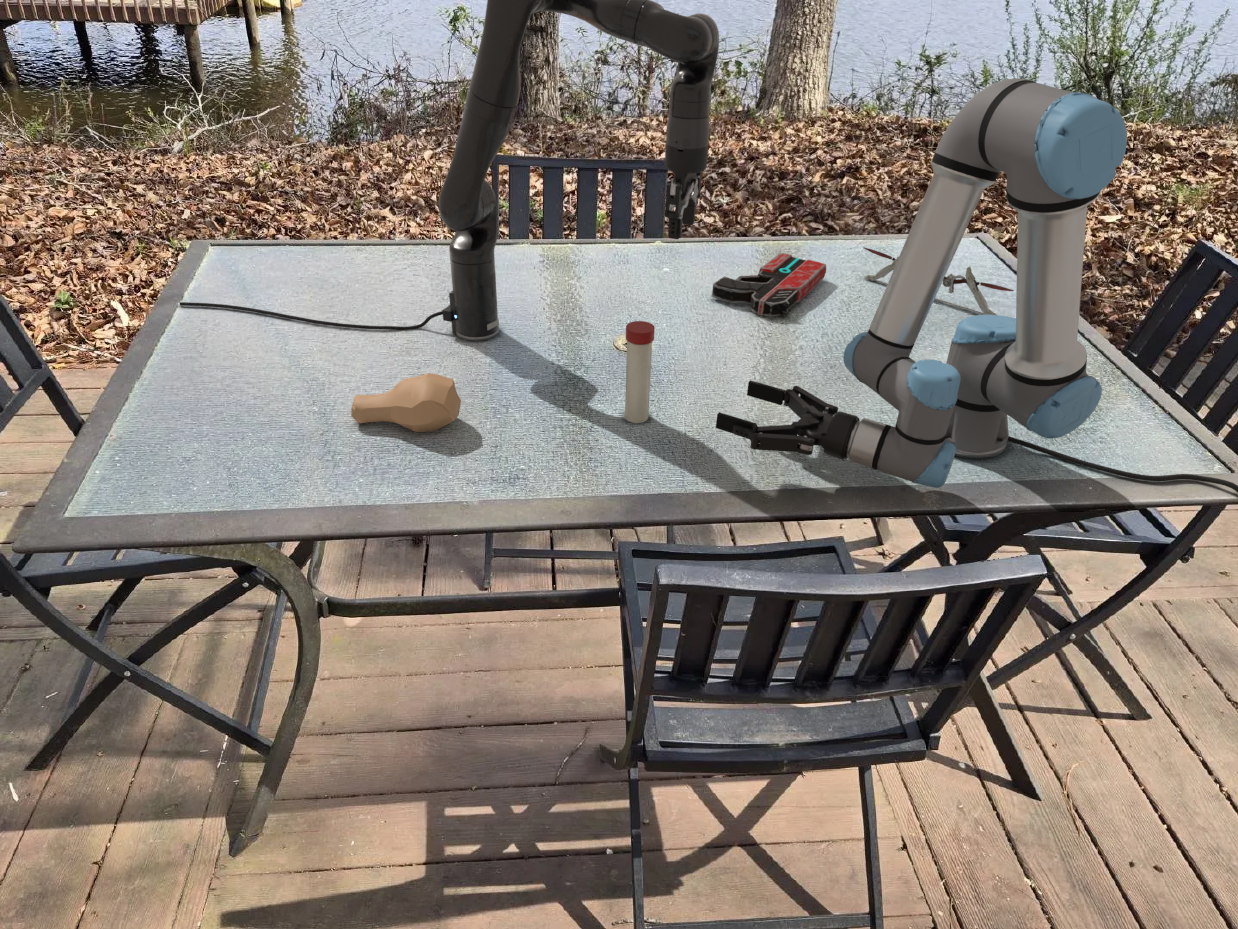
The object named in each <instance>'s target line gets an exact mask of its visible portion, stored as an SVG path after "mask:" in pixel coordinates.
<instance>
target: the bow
mask: <svg viewBox="0 0 1238 929" xmlns="http://www.w3.org/2000/svg"><path fill="white" fill-rule="evenodd" d="M863 249H864V250H866V251H868V252H870V253H871V254H874V255H876V256H879V257H881V258H885V259H888V260H891V261H892V263H890V264H888V265H886V266H885V267H883V268H881V269H880V270H878V271H877V273H876V274H872V275H871V274H868V275H865V277H864V278H865V279H866V280H868V281H870V282H874V281H875V282H878V283H881V284H884V285H886V286H887V285H888V283H886V282H883V281H880V280H879V279H881V278H885V277H886V276H887V275H888V274H890V273H891V272H893V270H894V268H895V265H896V263H897V261H898V258H899V256H897V257H896V258H895V257H892V256H891V255H888V254H886V253H884V252H881V251H878V250H875V249H871V248H868V247H863ZM959 284H960V285H961V284H966V285H967V287H968V289H969V290H970V291H971V294H972V295H973V298H974V300H975V301H976V303H977V305H978V308H979V309H980V311H981V312H980V311H978V310H974V309H971V308H968V307H964V306H961V305H958V304H955V303H952V302H948V301H946V300H945V301H944V300H942V299H938V298H935V300H936V301H938V302H939V301H940V302H942V303H946V304H949V305H953V306H955V307H959V308H963V309H965V310H967V311H968V310H969V311H972V312H975V313H979V314H980V315H998V314H997V313H995V312H994V311H992V310H991V309H990V308H989V304H988V302H987V300H986V298H985V296H984V295H983V293H982V291H980V289H979V285H980V286H982V287H985V288H989V289H991V290H996V291H997V290H998V291H1003V292H1014V291H1015V290H1014V289H1011V288H1009V287H1004V286H1001V285H997V284H993V283H987V282H980V281H977V280H976V277H975V275H974V274H973V272H972V267H971V266H967V267H966V271H965V276H963V275H961V274H960V275H954V274H953V273H950V274H948V275H947V276H945V277H944V279H943V281H942V284H941V285H943V286H944V287H945V288H948V294H953V293H954V292H955V285H959Z"/></svg>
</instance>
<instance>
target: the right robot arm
mask: <svg viewBox="0 0 1238 929" xmlns="http://www.w3.org/2000/svg"><path fill="white" fill-rule="evenodd" d="M1127 143H1128V134H1127V126H1126V123H1125V120H1124V118H1123V116H1122V114H1121V113H1120V111H1119V110H1118V109H1117V108H1116V107H1114V106H1113V105H1112V104H1111V103H1109V102H1107V101H1104V100H1101V99H1099V98H1097V97H1095V96H1094V95H1092V94H1088V93H1086V92H1085V93H1084V92H1080V91H1079V92H1073V91H1069V90H1065V89H1061V88H1057V87H1054V86H1050V85H1047V84H1043V83H1039V82H1037V81H1034V80H1030V79H1027V78H1018V77H1017V78H1007V79H1003V80H1000V81H998V82H995V83H993V84H990V85H989V86H987V87H985V88H984V89H982V90H980V91H979V92H977V93H976V94H975V95H974V96H972V98H970V99H969V100H967V102H966V103H965V104H964V106H962V107H961V109H960V110H959V111H958V112H957V114H955V116H954V117H953V118H952V120H951V122H949V125H948V126H947V128H946V130H945V131H944V132H943V134H942V136H941V138H940V140H939V143H938V145H937V147H936V149H935V151H934V154H933V156H932V158H931V161H930V165H931V168H932V171H933V175H932V177H931V179H930V181H929V184H928V186H927V189H926V191H925V194H924V196H923V198H922V201H921V203H920V206H919V208H918V211H917V212H916V215H915V218H914V220H913V222H912V225H911V227H910V230H909V232H908V235H907V237H906V239H905V242H904V244H903V246H902V249H901V252H900V254H899V256H898V257H899V258H898V261H897V263H896V265H895V268H894V270H892V273H891V275H890V278H889V280H888V282H887V284H888V285H887V284H886V287H885V290H884V292H883V294H882V296H881V299H880V302H879V304H878V306H877V309H876V311H875V313H874V316H873V318H872V321H871V323H870V326H869V327H868V331H864V332H860V333H858V334H856V335H855V336H853V337H852V340H851V341H850V342H848V343H847V344H846V347H845V348H844V353H843V358H842V359H843V363H844V367H845V368H846V369H847V370H848V372H850V373H851V374H852V375H853V376H854V377H855V378H856V380H858V382H859V383H861V384H864V385H865V386H866V387H868V388H870V390H872V391H873V392H874V393H876V394H877V395H879V396H880V397H881V398H882V399H883V400H884V401H886V402H887V403H888V404H889V405H891V406H892V407H893V409H896V410H897V411H898V415H897V419H896V422H895V426H894V425H893V426H892V425H889V424H887V423H883V422H879V421H876V420H873V419H870V418H869V419H868V418H866V417H863V418H861V419H860V418H859V416H858V415H855V414H851V413H849V412H845V411H841V410H839V407H838V406H836V405H833V404H831V403H828V402H826V401H825V400H822V399H820V398H819V397H817V396H815V394H813V393H811V392H809V391H807V390H806V389H804V388H802V387H800V386H799V385H793V386H792V388H786V389H783V388H779V387H775V386H773V385H770V384H769V385H768V384H765V383H761V382H758V381H754V380H751V379H749V381H748V383H747V389H746V390H747V392H746V396H748V397H751V398H755V399H758V400H761V401H764V402H767V403H768V402H769V403H771V404H775V405H778V406H782V405H783V407H784V408H785V407H787V408H789V409H790V410H791V411H792V412H793V413H794V414H795V415H796V416H797V417H798V418H799V419H797V421H793V422H792V423H790V424H781V425H780V424H779V425H764V426H763V425H762V426H758V424H757V422H753V421H749V420H746V419H743V418H740V417H737V416H733V415H731V414H726V413H724V412H721V411H719V412H717V413H716V422H715V429H716V430H717V429H718V430H721V431H724V432H726V433H729V434H732V435H735V436H738V437H741V438H744V439H747V440H750V446H749V447H750V449H751V450H755V451H756V450H757V451H769V452H770V451H772V452H784V453H785V452H786V453H799V454H803V455H806V456H812V455H813V452H814V451H813V450H814V447H815V446H817V447H821V448H822V449H823V454H824V455H825V456H828V457H831V458H833V459H838V460H841V461H844V460H848V461H849V463H852V464H855V465H857V466H862V467H863V468H865V469H867V468H868V469H872V470H874V471H877V472H880V473H884V474H887V475H890V476H893V477H896V478H899V479H902V480H905V481H909V482H911V483H912V484H918V485H921V486H926V487H931V488H941V487H943V486H944V485H945V484H946V482H947V479H948V477H949V474H950V471H951V469H952V465H953V462H954V460H955V457H959V458H964V459H973V460H979V459H980V460H982V459H983V460H984V459H989V458H994V457H996V456H999V455H1000V454H1002V453H1003V452H1005V451H1006V448H1007V444H1008V443H1012V444H1016V445H1018V446H1021V447H1025V448H1027V449H1031V450H1034V451H1037V452H1039V453H1042V454H1046V455H1049V456H1051V457H1054V458H1058V459H1061V460H1064V461H1065V462H1066V461H1067V462H1069V463H1073V464H1076V465H1079V466H1082V467H1086V468H1089V469H1092V470H1096V471H1100V472H1104V473H1108V474H1111V475H1116V476H1120V477H1125V478H1129V479H1134V480H1140V481H1147V482H1148V481H1149V482H1168V481H1169V482H1170V481H1175V480H1176V481H1177V480H1191V481H1196V482H1197V481H1199V482H1205V483H1211V484H1217V485H1221V486H1225V487H1227V488H1230V489H1232V490H1233V491H1235V492H1236V493H1238V484H1236V483H1234V482H1233V481H1232V482H1231V481H1229V480H1225V479H1222V478H1217V477H1211V476H1205V475H1198V474H1190V473H1175V474H1169V475H1147V474H1140V473H1134V472H1129V471H1124V470H1120V469H1116V468H1112V467H1108V466H1104V465H1100V464H1097V463H1094V462H1089V461H1086V460H1083V459H1079V458H1077V457H1073V456H1070V455H1067V454H1065V453H1061V452H1058V451H1055V450H1051V449H1050V448H1046V447H1043V446H1040V445H1037V444H1034V443H1031V442H1028V441H1026V440H1022V439H1019V438H1016V437H1012V436H1010V435H1009V434H1010V433H1009V419H1008V416H1009V417H1010V418H1011V419H1013V420H1014V421H1015V422H1017V423H1018V424H1020V425H1021V426H1023V427H1024V428H1025V429H1026V430H1027V431H1029V432H1032V433H1035V434H1036V435H1037V436H1040V437H1042V438H1044V439H1050V440H1052V439H1058V438H1062V437H1064V436H1067V435H1068V434H1070V433H1072V432H1074V431H1076V429H1078V428H1080V426H1082V425H1083V424H1084V423H1085V422H1086V421H1087V420H1088V419H1089V417H1090V416H1091V415H1092V414H1093V413H1094V411H1095V410H1096V409H1097V407H1098V405H1099V403H1100V402H1101V398H1102V394H1103V388H1102V384H1101V383H1100V382H1099V381H1098V380H1097V379H1096V377H1094V376H1093V375H1089V374H1088V373H1087V362H1088V352H1087V349H1086V347H1085V346H1084V345H1083V343H1081V341H1079V340H1078V337H1079V336H1078V335H1079V324H1080V322H1079V321H1080V309H1081V295H1082V284H1083V283H1082V282H1083V281H1082V280H1083V269H1084V268H1083V267H1084V255H1085V254H1084V253H1085V240H1086V229H1087V228H1086V226H1087V214H1088V213H1087V212H1088V207H1089V206H1090V205H1091V204H1092V203H1094V202H1095V201H1097V199H1098V198H1099V197H1100V195H1101V193H1102V191H1103V190H1104V189H1105V188H1106V187H1108V185H1109V184H1110V183H1111V182H1112V181H1113V180H1114V178H1115V176H1116V175H1117V171H1116V168H1117V167H1120V166H1121V165H1122V163H1123V161H1124V160H1125V155H1126V151H1127ZM1000 172H1002V173H1005V175H1006V202H1007V204H1008V205H1009V207H1011V208H1012V209H1013V210H1016V211H1017V245H1016V246H1017V248H1016V250H1017V252H1016V255H1017V256H1016V292H1015V293H1016V294H1015V295H1016V298H1015V300H1016V301H1015V302H1016V303H1015V310H1016V311H1015V317H1011V316H1007V315H1000V314H997V315H985V314H977V315H971V316H968V317H965V318H963V319H962V320H960V321H959V322H958V324H957V325H956V329H955V332H954V334H953V337H952V339H951V342H950V347H949V350H948V355H947V360H946V363H945V362H943V361H941V360H938V359H930V358H929V359H928V358H927V359H920V360H917V361H916V360H914V359H912V358H911V357H910V355H911V353H912V351H913V349H914V346H915V343H916V341H917V339H918V336H919V334H920V332H921V330H922V327H923V325H924V323H925V321H926V319H927V316H928V315H929V312H930V310H931V308H932V306H933V303H934V301H935V300H936V297H937V295H938V292H939V291H940V287H941V285H943V284H942V283H943V279H944V277H946V275H947V272H948V271H949V268H950V266H951V263H952V261H953V260H954V257H955V255H956V253H957V250H958V248H959V246H960V244H961V241H962V239H963V237H964V235H965V233H966V231H967V228H968V226H969V224H970V222H971V219H972V218H973V215H974V213H975V211H976V208H977V207H978V204H979V202H980V199H981V197H982V194H983V193H984V191H985V189H987V188H988V187H991V186H992V185H994V184H996V181H997V180H998V177H999V175H1000Z"/></svg>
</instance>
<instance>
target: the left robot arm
mask: <svg viewBox="0 0 1238 929" xmlns="http://www.w3.org/2000/svg"><path fill="white" fill-rule="evenodd" d="M540 12H550V13H558V14H564V15H568V16H571V17H574V18H576V19H579V20H582V21H583V22H585V23H587V24H589V25H590V26H592V27H594V28H595V29H597V30H599V31H601V32H602V33H603V34H606V35H609V36H611V37H613V38H616V39H620V40H622V41H624V42H628V43H631V44H634V45H638V46H640V47H645V48H648V49H649V50H651V51H653V52H655V53H657V54H658V55H660V56H663V57H664V58H666V59H668V60H670V61H673V62H675V63H678V64H677V70H676V75H675V77H674V78H673V81H672V82H671V86H670V89H669V90H670V91H669V108H668V119H667V122H666V133H665V134H666V136H665V151H664V152H665V154H664V167H665V169H667V170H668V171H671V172H672V173H673V179H672V180H671V182H667V184H666V186H665V187H666V188H665V189H666V191H665V203H664V204H665V205H664V213H663V214H664V218H668V232H667V234H668V235H667V237H668V238H669V239H672V240H680V238H681V236H682V225H685V226H686V225H687V226H693V225H694V224H695V220H696V219H695V218H696V205H697V204H698V202H699V201H698V199H700V198H701V195H702V194H701V193H702V192H701V191H702V176H703V172H704V171H705V170H706V169H707V166H708V165H707V164H708V153H709V142H710V110H711V109H710V108H711V99H712V98H711V97H712V96H711V95H712V94H711V93H712V91H711V89H712V83H713V80H714V74H715V70H716V67H717V66H716V65H717V60H718V55H719V48H720V31H719V28H718V24H717V23H716V21H715V20H714V19H713V18H712V17H711V16H710V15H708V14H705V13H694V14H691V15H689V16H686V15H683V14H679V13H677V12H676V13H675V12H673V11H670V10H667V9H665V7H663V5H661V4H660V3H659V2H656V1H654V0H486V8H485V15H484V23H483V30H482V35H481V39H480V43H479V47H478V51H477V54H476V59H475V63H474V68H473V72H472V75H471V79H470V82H469V86H468V89H467V94H466V99H465V103H464V107H463V113H462V117H461V122H460V125H459V130H458V134H457V138H456V143H455V148H454V152H453V156H452V158H451V163H450V165H449V168H448V171H447V174H446V177H445V179H444V181H443V185H442V187H441V190H440V192H439V197H438V206H437V207H438V212H439V217H440V218H441V220H442V222H443V223H444V224H445V226H446V227H447V228H449V229H450V230H452V231H455V233H454V236H453V238H452V240H451V241H450V244H449V246H448V250H449V263H450V264H449V265H450V275H451V276H450V277H451V286H452V290H451V291H450V292H448V297H449V305H448V306H446V307H444V308H443V309H442V310H440V311H438V312H437V311H436V312H435V313H432V314H430V315H429V316H427V317H426V318H425V319H424V320H423V321H422V322H421V323H419V324H415V325H412V326H410V325H409V326H395V325H364V324H353V323H341V322H331V321H325V320H318V319H311V318H305V317H301V316H295V315H290V314H285V313H281V312H275V311H270V310H263V309H258V308H254V307H253V308H252V307H247V306H239V305H231V304H221V303H210V302H187V301H185V302H183V301H181V302H180V301H179V306H183V307H184V306H186V307H206V308H207V307H208V308H222V309H230V310H239V311H244V312H252V313H258V314H264V315H267V316H273V317H278V318H282V319H283V318H284V319H289V320H295V321H299V322H304V323H311V324H316V325H324V326H332V327H338V328H339V327H340V328H349V329H364V330H395V331H396V330H397V331H408V330H417V329H421V328H423V327H425V326H426V325H427V324H428V322H430V320H432V319H434V318H436V317H439V316H442V319H443V321H445V322H448V323H449V322H450V323H451V332H452V334H453V335H456V336H457V337H458V338H460V339H462V340H464V341H470V342H479V341H481V342H482V341H486V340H487V341H488V340H491V339H493V338H494V337H495V338H496V337H497V335H499V333H500V327H499V325H500V319H499V312H498V311H499V310H498V296H497V295H498V294H497V293H498V292H497V276H496V275H497V274H496V261H495V259H496V258H495V248H496V245H497V240H498V207H497V206H498V205H497V198H496V194H495V192H494V189H493V187H492V185H491V184H490V183H489V182H488V181H487V180H486V177H487V174H488V171H489V169H490V167H491V165H492V163H493V161H494V160H495V158H496V156H497V154H498V153H499V151H500V149H501V148H502V146H503V145H504V142H505V140H506V139H507V136H508V134H509V133H510V130H511V128H512V125H513V122H514V120H515V115H516V112H517V108H518V104H519V102H520V101H519V100H520V95H521V72H520V53H521V45H522V41H523V39H524V36H525V33H526V29H527V26H528V24H529V21H530V19H531V16H532V14H536V13H540ZM674 208H675V210H674Z"/></svg>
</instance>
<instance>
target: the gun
mask: <svg viewBox="0 0 1238 929" xmlns="http://www.w3.org/2000/svg"><path fill="white" fill-rule="evenodd" d="M826 273H827V264H826V263H823V262H820V261H816V260H812V259H802V258H799V257H795V256H793V255H792V254H791V253H784V252H780V253H778V254H777V255H775V256H774V257H773V258H771V259H770V260H768V261H767V262H766V263H765V264H763V265H762V266H761V267H760V269H759V271H758V273H757V274H756V275H753V274H752V275H751V274H750V275H740V276H738V277H737V278H735V279H734V278H731V277H727V276H722V277H720V279H717V281H715V282H713V283H712V291H711V297H713V298H714V299H716V300H719V301H723V302H727V303H730V304H750V305H749V308H750V310H751V312H753V313H755V314H757V315H758V316H760V317H761V316H765V317H770V318H771V317H777V316H780V317H784V318H787V317H788V315H789V311H788V310H790V309H791V308H792V307H793V306H794V305H795V304H798V303H799V302H801V301H802V300H803V299H804V298H805V297H807V296H808V295H809V294H810V293H811V292H812V291H813V290H814V289H815V287H817V285H818V284H820V283H821V282H822V280H823V279H824V278H825V276H826Z"/></svg>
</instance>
